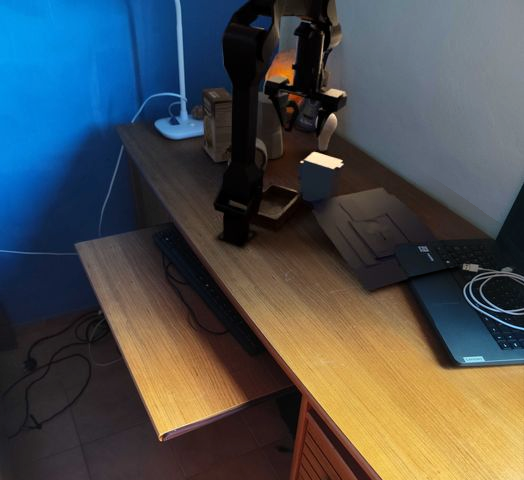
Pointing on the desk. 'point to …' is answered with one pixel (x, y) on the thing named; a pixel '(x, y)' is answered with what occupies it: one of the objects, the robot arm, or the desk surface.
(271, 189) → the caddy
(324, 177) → the tabbed grey block
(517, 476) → the desk surface
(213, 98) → the coffee box
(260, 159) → the ceramic mug
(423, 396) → the desk surface
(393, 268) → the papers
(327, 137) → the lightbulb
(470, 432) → the desk surface
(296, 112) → the coffeepot
